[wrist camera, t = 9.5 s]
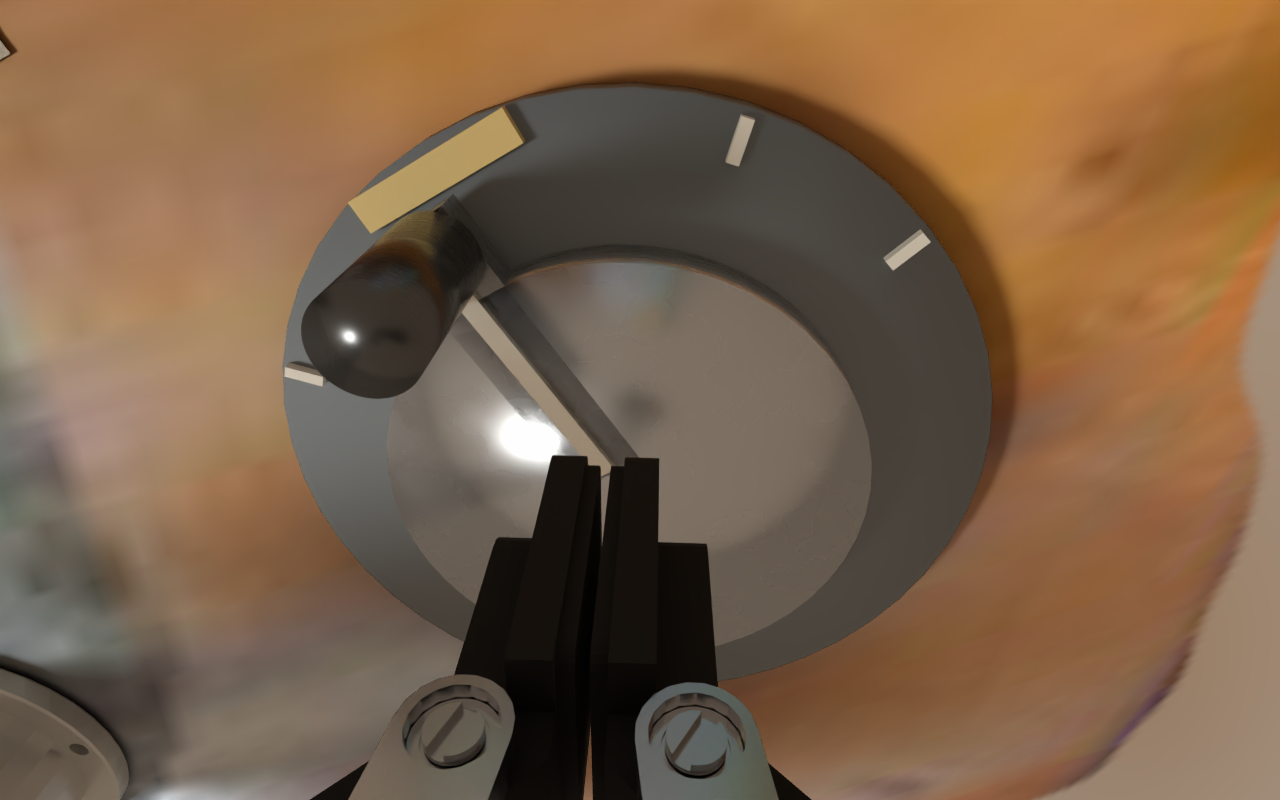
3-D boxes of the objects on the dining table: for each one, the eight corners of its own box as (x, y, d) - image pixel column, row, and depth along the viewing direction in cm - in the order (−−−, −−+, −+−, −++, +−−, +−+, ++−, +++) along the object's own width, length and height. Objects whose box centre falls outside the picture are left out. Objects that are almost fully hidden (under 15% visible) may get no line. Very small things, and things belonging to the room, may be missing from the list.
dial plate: (813, 716, 33) (818, 743, 32) (285, 590, 31) (270, 614, 29) (1136, 225, 21) (1161, 240, 20) (315, -38, 19) (291, -37, 18)
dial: (936, 525, 25) (1006, 688, 20) (578, 671, 30) (552, 834, 25) (648, 35, 18) (629, 73, 12) (239, 332, 23) (95, 454, 17)
